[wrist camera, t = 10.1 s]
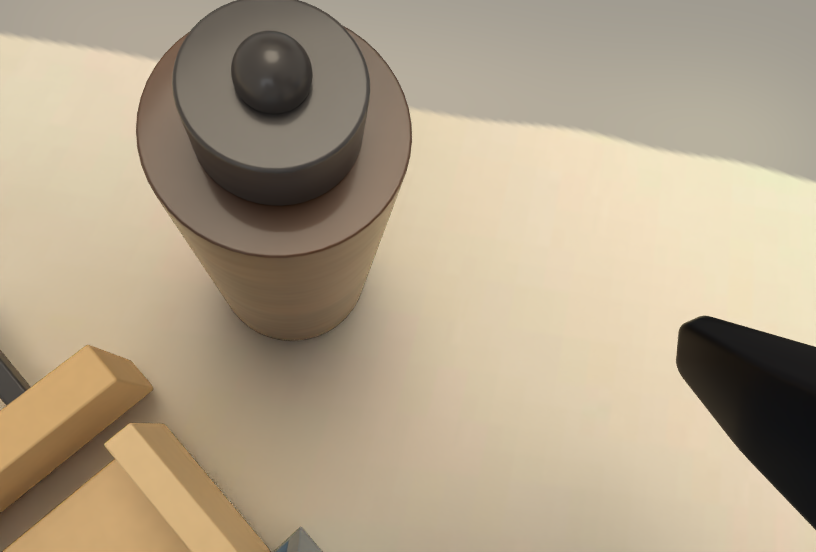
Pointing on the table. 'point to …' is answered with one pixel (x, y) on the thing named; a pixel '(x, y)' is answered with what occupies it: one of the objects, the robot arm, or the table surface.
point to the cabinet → (299, 543)
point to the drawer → (108, 466)
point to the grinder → (277, 158)
